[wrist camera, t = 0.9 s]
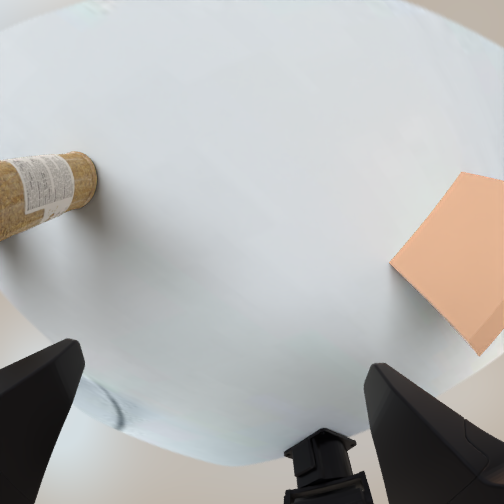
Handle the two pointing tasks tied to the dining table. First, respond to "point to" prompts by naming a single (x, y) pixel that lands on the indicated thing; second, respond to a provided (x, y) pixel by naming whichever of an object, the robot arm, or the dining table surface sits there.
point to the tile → (462, 259)
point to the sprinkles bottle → (43, 189)
